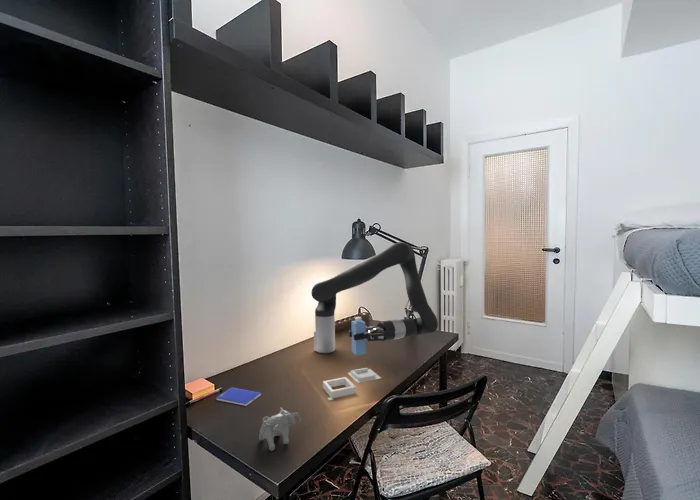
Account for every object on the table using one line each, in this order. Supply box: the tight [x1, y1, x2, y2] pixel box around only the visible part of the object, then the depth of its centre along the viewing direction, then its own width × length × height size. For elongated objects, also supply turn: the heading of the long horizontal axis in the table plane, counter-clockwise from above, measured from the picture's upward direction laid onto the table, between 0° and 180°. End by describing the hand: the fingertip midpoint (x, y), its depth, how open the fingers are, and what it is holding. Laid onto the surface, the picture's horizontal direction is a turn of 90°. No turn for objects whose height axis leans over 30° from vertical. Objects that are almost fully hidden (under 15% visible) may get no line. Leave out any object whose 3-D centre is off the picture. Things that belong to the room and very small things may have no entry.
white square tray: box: [347, 367, 382, 384], centre depth 137 cm, size 10×10×2 cm
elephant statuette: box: [258, 406, 303, 452], centre depth 97 cm, size 9×12×8 cm
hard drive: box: [216, 386, 262, 407], centre depth 122 cm, size 2×8×12 cm
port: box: [322, 376, 357, 402], centre depth 124 cm, size 12×12×3 cm
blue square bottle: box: [350, 316, 367, 356], centre depth 133 cm, size 4×4×14 cm
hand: (351, 335), depth 132 cm, fingers closed on blue square bottle, 4 cm apart
